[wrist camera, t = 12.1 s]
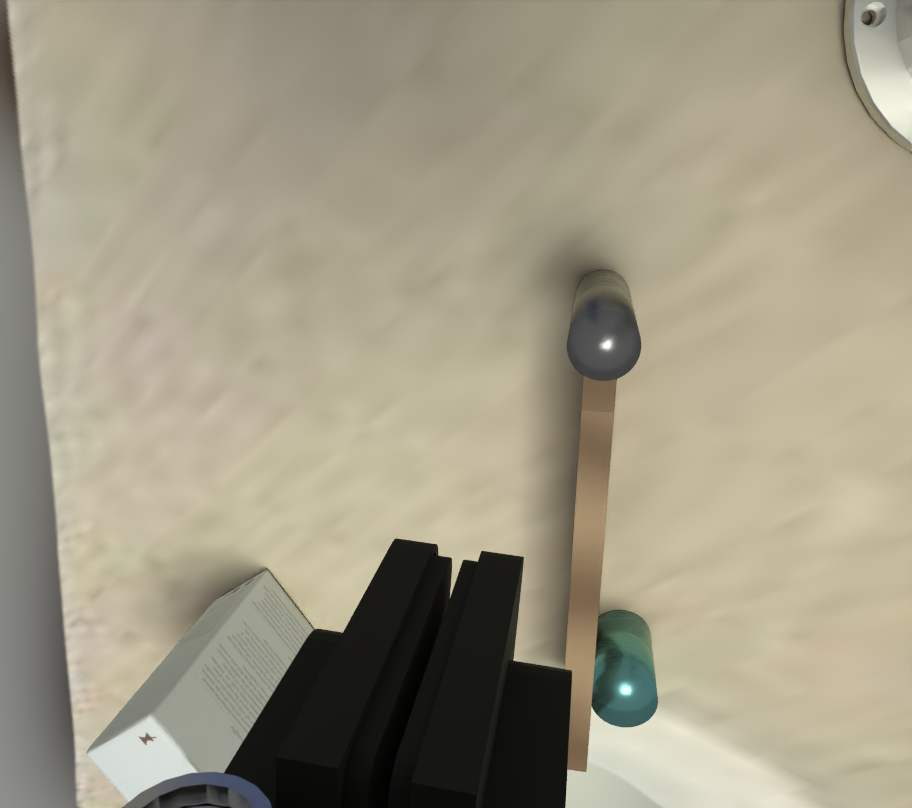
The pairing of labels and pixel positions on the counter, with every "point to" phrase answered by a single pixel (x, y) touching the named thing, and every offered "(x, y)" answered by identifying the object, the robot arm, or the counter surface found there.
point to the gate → (588, 558)
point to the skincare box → (204, 690)
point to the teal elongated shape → (618, 632)
